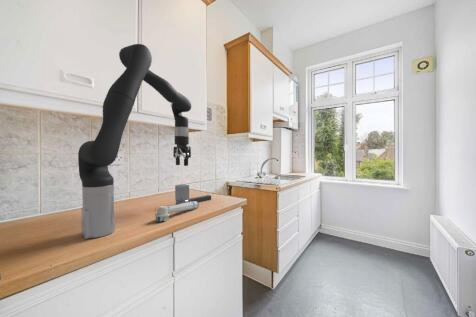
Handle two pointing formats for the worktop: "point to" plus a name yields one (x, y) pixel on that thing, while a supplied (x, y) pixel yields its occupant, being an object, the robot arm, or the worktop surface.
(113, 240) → the worktop surface
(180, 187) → the socket
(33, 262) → the worktop surface
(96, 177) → the robot arm
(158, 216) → the grey cylindrical tool
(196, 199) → the ratchet
